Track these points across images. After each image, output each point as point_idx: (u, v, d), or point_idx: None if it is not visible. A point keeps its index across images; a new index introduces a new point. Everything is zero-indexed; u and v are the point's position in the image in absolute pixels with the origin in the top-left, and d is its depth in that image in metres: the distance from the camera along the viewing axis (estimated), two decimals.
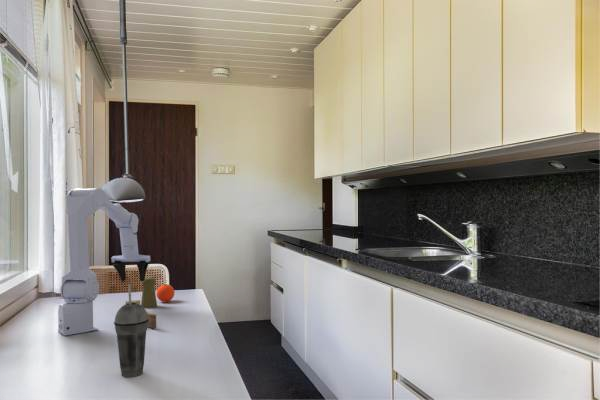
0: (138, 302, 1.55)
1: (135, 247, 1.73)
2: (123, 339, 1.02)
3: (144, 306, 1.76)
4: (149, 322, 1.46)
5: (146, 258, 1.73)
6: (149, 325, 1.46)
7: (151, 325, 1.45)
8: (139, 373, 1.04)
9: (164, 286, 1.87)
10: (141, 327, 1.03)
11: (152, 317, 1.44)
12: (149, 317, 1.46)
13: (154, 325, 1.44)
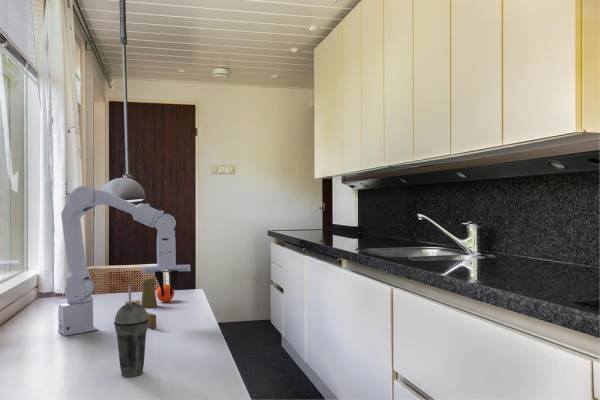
0: (138, 302, 1.55)
1: None
2: (123, 339, 1.02)
3: (144, 306, 1.76)
4: (149, 322, 1.46)
5: None
6: (149, 325, 1.46)
7: (151, 325, 1.45)
8: (139, 373, 1.04)
9: (164, 286, 1.87)
10: (141, 327, 1.03)
11: (152, 317, 1.44)
12: (149, 317, 1.46)
13: (154, 325, 1.44)
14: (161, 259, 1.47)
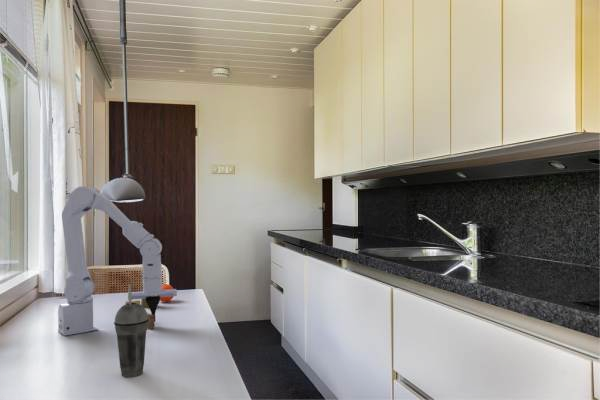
0: (138, 302, 1.55)
1: None
2: (123, 339, 1.02)
3: (144, 306, 1.76)
4: None
5: None
6: (147, 326, 1.45)
7: (149, 325, 1.44)
8: (139, 373, 1.04)
9: (164, 286, 1.87)
10: (141, 327, 1.03)
11: (150, 317, 1.44)
12: None
13: (152, 325, 1.44)
14: (146, 285, 1.45)
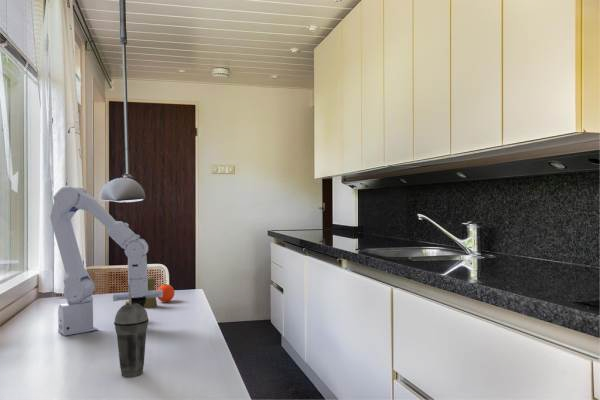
0: None
1: None
2: (123, 339, 1.02)
3: (144, 306, 1.76)
4: None
5: None
6: None
7: None
8: (139, 373, 1.04)
9: (164, 286, 1.87)
10: (141, 327, 1.03)
11: None
12: None
13: None
14: (132, 286, 1.44)
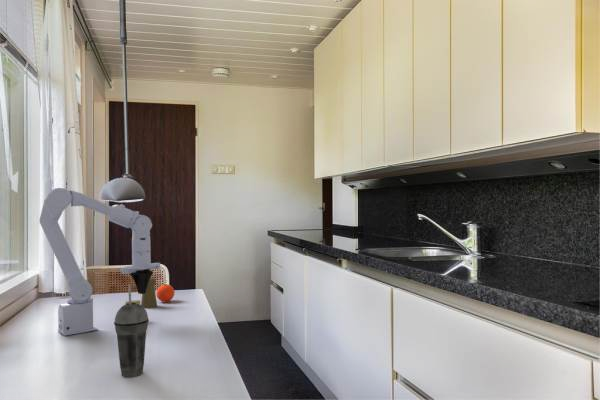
0: (138, 302, 1.55)
1: (133, 254, 1.52)
2: (123, 339, 1.02)
3: (144, 306, 1.76)
4: None
5: None
6: None
7: None
8: (139, 373, 1.04)
9: (164, 286, 1.87)
10: (141, 327, 1.03)
11: None
12: None
13: None
14: (142, 258, 1.51)
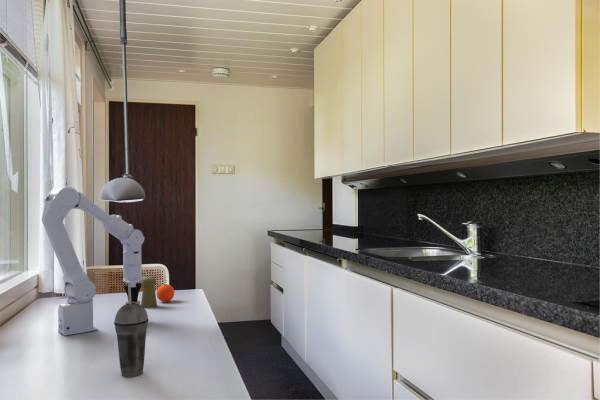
0: (138, 303, 1.54)
1: (129, 268, 1.54)
2: (123, 339, 1.02)
3: (144, 306, 1.76)
4: None
5: (128, 282, 1.50)
6: None
7: None
8: (139, 373, 1.04)
9: (164, 286, 1.87)
10: (141, 327, 1.03)
11: None
12: None
13: None
14: (139, 271, 1.56)
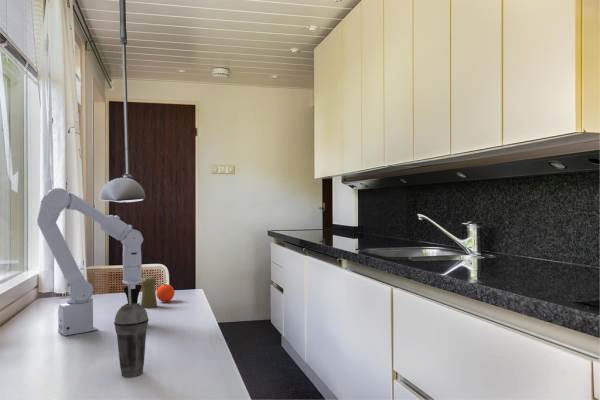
0: None
1: (129, 269, 1.50)
2: (123, 339, 1.02)
3: (144, 306, 1.76)
4: None
5: None
6: None
7: None
8: (139, 373, 1.04)
9: (164, 286, 1.87)
10: (141, 327, 1.03)
11: None
12: None
13: None
14: (139, 272, 1.52)
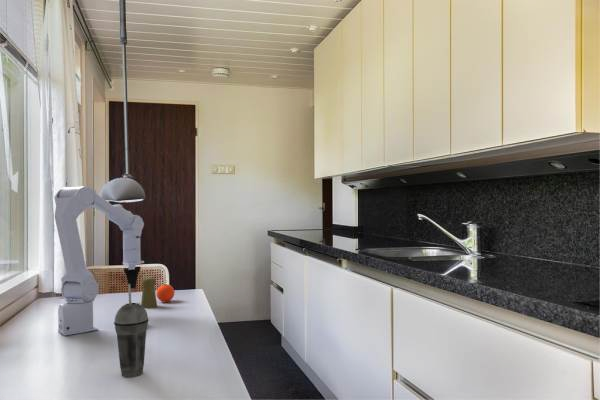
0: None
1: (129, 252, 1.63)
2: (123, 339, 1.02)
3: (144, 306, 1.76)
4: None
5: (128, 265, 1.59)
6: None
7: None
8: (139, 373, 1.04)
9: (164, 286, 1.87)
10: (141, 327, 1.03)
11: None
12: None
13: None
14: (138, 255, 1.65)
